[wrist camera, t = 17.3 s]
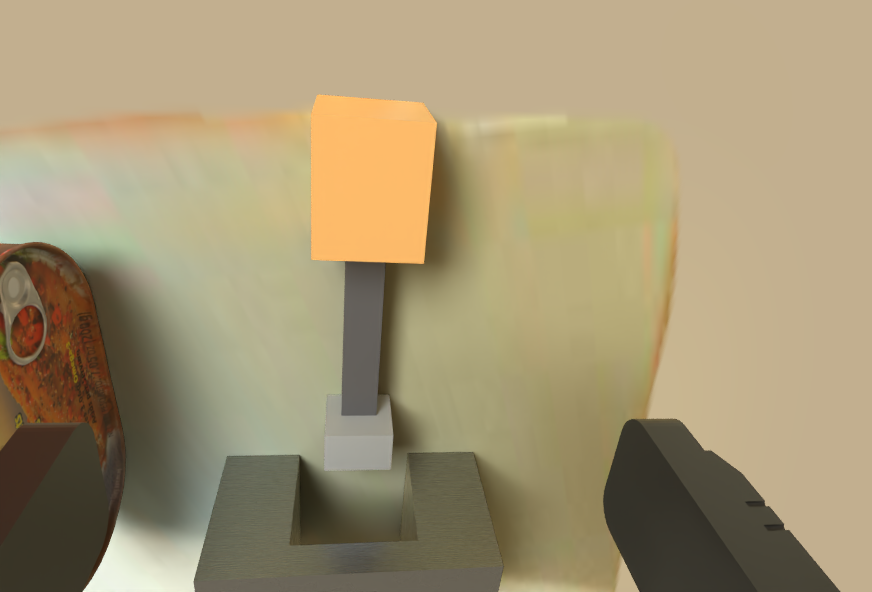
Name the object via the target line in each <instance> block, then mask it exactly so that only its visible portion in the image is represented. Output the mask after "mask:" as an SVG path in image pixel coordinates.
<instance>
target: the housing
mask: <svg viewBox="0 0 872 592" xmlns="http://www.w3.org/2000/svg"><path fill="white" fill-rule="evenodd" d="M503 567H504V566H503V562H502V558H501V555H500V551H499V547H498V543H497V540H496V536H495V532H494V528H493V525H492V521H491V517H490V513H489V510H488V506H487V502H486V498H485V495H484V491H483V487H482V483H481V480H480V476H479V472H478V468H477V465H476V461H475V457H474V453H473V452H464V453H408V454H407V464H406V475H405V486H404V496H403V507H402V518H401V528H400V541H393V542H369V543H344V544H319V545H300V468H299V455H285V456H227V459H226V463H225V466H224V470H223V474H222V477H221V481H220V485H219V489H218V492H217V496H216V500H215V504H214V507H213V511H212V515H211V519H210V522H209V526H208V530H207V533H206V537H205V541H204V545H203V548H202V552H201V556H200V560H199V563H198V567H197V571H196V575H195V578H194V587H195V592H498V590H499V586H500V581H501V576H502V572H503Z"/></svg>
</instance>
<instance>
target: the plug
mask: <svg viewBox="0 0 872 592" xmlns="http://www.w3.org/2000/svg"><path fill="white" fill-rule="evenodd" d="M436 127H437V122H436V121H435V119H434V118H433V116H432V115H431V114H430V112H429V111H428V109H427V108H426V106H425V105H424V103H418V102H407V101H394V100H381V99H368V98H355V97H343V96H330V95H317V98H316V101H315V104H314V107H313V110H312V113H311V260H331V261H345V294H344V331H343V368H342V395H327V404H326V421H325V449H324V471H346V470H391V459H392V446H393V427H392V416H391V406H390V396H389V395H378V379H379V363H380V346H381V330H382V314H383V297H384V281H385V264H386V262H389V263H418V264H424V256H425V246H426V235H427V224H428V213H429V202H430V192H431V181H432V170H433V159H434V149H435V138H436Z"/></svg>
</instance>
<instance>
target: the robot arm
mask: <svg viewBox="0 0 872 592" xmlns="http://www.w3.org/2000/svg"><path fill="white" fill-rule="evenodd" d="M764 502H765V501H764V500H763V498H762V497H761V496H760V495H759V493H758V492H757V491H756V490H755V489H754V487H753V486H752V485H751V484H750V483H749V481H748V480H747V479H746V478H745V477H744V475H743V474H742V473H741V472H739V471H738V470H737V469H735V468H734V467H732V466H731V465H730V464H728V463H727V462H726V461H724V460H723V459H722V458H720V457H719V456H718V455H716V454H715V453H714V452H712V451H704V450H703V448H702V447H701V445H700V444H699V443H698V442H697V440H696V439H695V438H694V437H693V435H692V434H691V433H690V432H689V430H688V429H687V428H686V427H685V425H684V424H683V423H682V422H680V421H679V420H677V419H631V420H629V421H627V422H626V423H625V425H624V427H623V429H622V432H621V435H620V439H619V442H618V445H617V449H616V452H615V456H614V459H613V462H612V466H611V469H610V472H609V476H608V479H607V483H606V486H605V490H604V498H603V504H604V513H605V518H606V522H607V525H608V528H609V530H610V533H611V535H612V537H613V539H614V541H615V543H616V545H617V547H618V549H619V551H620V553H621V555H622V557H623V559H624V561H625V563H626V565H627V567H628V569H629V571H630V573H631V575H632V577H633V579H634V581H635V583H636V585H637V588H638V590H639V591H640V592H840V591H839V590H838V588H837V587H836V586H835V585H834V584H833V582H832V581H831V580H830V579H829V578H828V576H827V575H826V574H825V573H824V572H823V570H822V569H821V568H820V567H819V566H818V565H817V563H816V562H815V561H814V560H813V559H812V557H811V556H810V555H809V554H808V552H807V551H806V550H805V549H804V548H803V546H802V545H801V544H800V543H799V541H798V540H797V539H796V538H795V537H794V536H793V534H792V533H791V532H790V531H789V530H785V529H784V524H783V522H782V521H781V520H780V519H779V517H778V516H777V515H776V514H775V513H774V511H773V510H772V509H771V508H770V507H769V506H768V507H766V506H765V503H764ZM108 518H109V506H108V499H107V494H106V489H105V484H104V479H103V474H102V469H101V464H100V460H99V455H98V450H97V445H96V440H95V435H94V432H93V429H92V427H91V426H90V425H89V424H88V423H85V422H81V423H26V424H23V425H22V426H20V427H19V428H18V429H17V430H16V431H15V433H14V434H13V435H12V436H11V438H10V439H9V440H8V442H7V443H6V444H5V446H4V447H3V448H2V449H1V451H0V592H83V589H84V587H85V585H86V583H87V580H88V578H89V576H90V574H91V571H92V569H93V567H94V565H95V563H96V560H97V558H98V556H99V554H100V551H101V549H102V546H103V543H104V540H105V536H106V532H107V526H108Z"/></svg>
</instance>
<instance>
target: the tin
mask: <svg viewBox="0 0 872 592" xmlns="http://www.w3.org/2000/svg"><path fill="white" fill-rule="evenodd" d="M81 422H85V423H88V424H89V425H90V426H91V427H92V429H93V432H94V435H95V440H96V445H97V450H98V455H99V460H100V464H101V469H102V474H103V479H104V484H105V489H106V494H107V499H108V506H109V518H108V526H107V532H106V536H105V540H104V543H103V546H102V549H101V551H100V554H99V556H98V558H97V560H96V563H95V565H94V567H93V569H92V571H91V574H90V576H89V578H88V580H87V583H86V585H85V587H84V589H85V588H86V586H87V585H88V583H89V582H90V580H91V579H92V577H93V576H94V574H95V572H96V571H97V569H98V567H99V565H100V563H101V562H102V559H103V557H104V554H105V552H106V550H107V547H108V545H109V542H110V539H111V536H112V534H113V531H114V527H115V524H116V520H117V516H118V512H119V508H120V503H121V499H122V494H123V488H124V481H125V466H126V455H125V440H124V435H123V430H122V425H121V421H120V416H119V412H118V407H117V403H116V399H115V394H114V390H113V386H112V381H111V376H110V372H109V368H108V363H107V359H106V355H105V349H104V344H103V340H102V336H101V332H100V327H99V323H98V318H97V313H96V309H95V304H94V301H93V297H92V293H91V290H90V287H89V285H88V282H87V280H86V278H85V276H84V274H83V273H82V271H81V269H80V268H79V266H78V265H77V264H76V262H75V261H74V260H73V259H72V258H71V257H70V256H69V255H68V254H67V253H65V252H64V251H63V250H61V249H59V248H57V247H56V246H53V245H51V244H47V243H42V242H31V243H24V244H0V451H1V449H2V448H3V447H4V446H5V444H6V443H7V442H8V440H9V439H10V438H11V436H12V435H13V434H14V433H15V431H16V430H17V429H18V428H19V427H20V426H22V425H23V424H26V423H81ZM84 589H83V590H84Z"/></svg>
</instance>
